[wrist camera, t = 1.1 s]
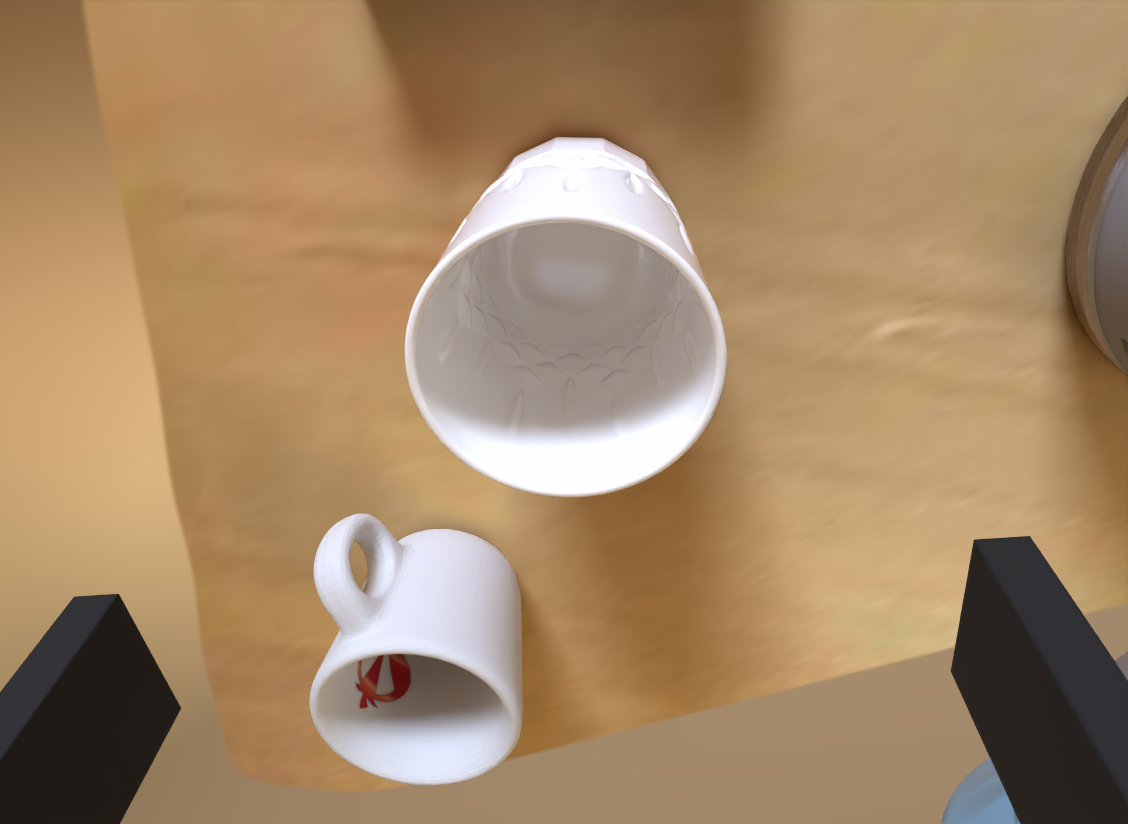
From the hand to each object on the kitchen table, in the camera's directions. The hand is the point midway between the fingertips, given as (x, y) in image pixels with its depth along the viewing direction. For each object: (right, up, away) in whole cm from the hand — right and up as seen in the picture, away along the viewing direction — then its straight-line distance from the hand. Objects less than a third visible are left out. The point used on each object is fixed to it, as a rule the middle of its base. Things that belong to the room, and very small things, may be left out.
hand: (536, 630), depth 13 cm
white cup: (+1, +10, +16) cm, 19 cm away
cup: (-5, -3, +24) cm, 25 cm away
